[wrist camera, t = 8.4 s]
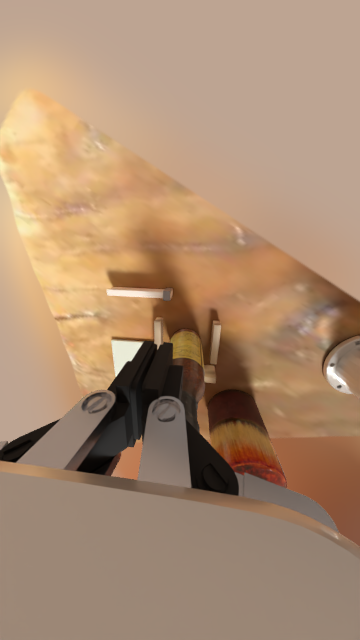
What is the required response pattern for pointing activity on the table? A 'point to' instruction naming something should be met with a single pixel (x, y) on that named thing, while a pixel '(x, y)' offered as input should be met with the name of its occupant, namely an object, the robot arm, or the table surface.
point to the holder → (216, 328)
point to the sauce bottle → (190, 371)
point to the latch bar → (141, 292)
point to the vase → (243, 436)
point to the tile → (124, 352)
